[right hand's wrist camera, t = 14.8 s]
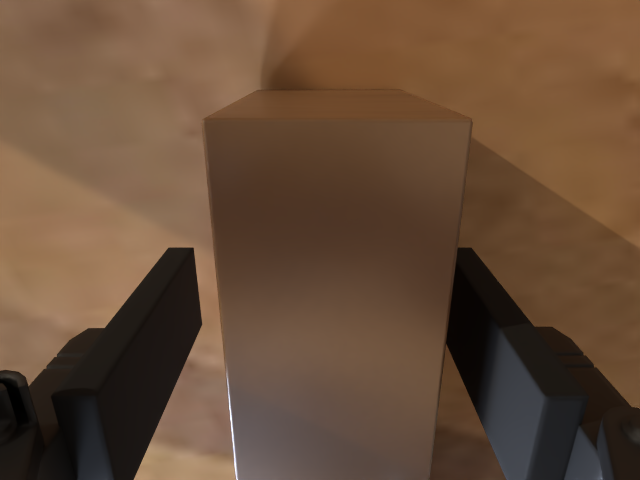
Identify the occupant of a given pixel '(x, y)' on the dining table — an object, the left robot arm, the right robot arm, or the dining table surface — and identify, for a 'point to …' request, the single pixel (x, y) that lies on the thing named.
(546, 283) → the dining table surface
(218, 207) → the beam
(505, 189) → the dining table surface
